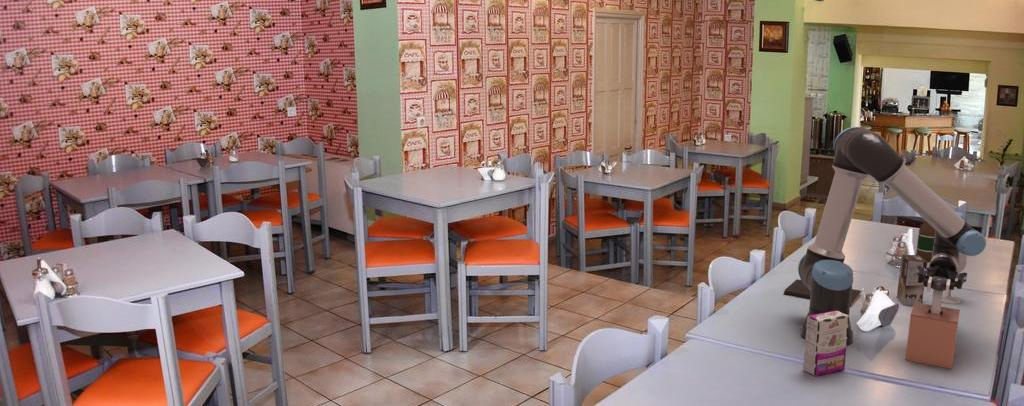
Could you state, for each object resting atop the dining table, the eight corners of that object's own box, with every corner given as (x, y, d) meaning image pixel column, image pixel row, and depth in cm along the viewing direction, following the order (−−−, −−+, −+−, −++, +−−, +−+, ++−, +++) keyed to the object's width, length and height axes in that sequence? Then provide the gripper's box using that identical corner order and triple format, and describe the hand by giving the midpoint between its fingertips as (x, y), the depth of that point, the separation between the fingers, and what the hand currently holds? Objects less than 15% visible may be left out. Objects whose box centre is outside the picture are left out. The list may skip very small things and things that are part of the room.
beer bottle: (937, 259, 337) (944, 203, 332) (935, 263, 331) (942, 206, 326) (916, 256, 341) (923, 201, 336) (914, 260, 335) (921, 204, 330)
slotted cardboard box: (909, 346, 244) (914, 302, 241) (953, 354, 238) (959, 309, 235) (905, 359, 234) (910, 314, 231) (951, 368, 228) (958, 322, 225)
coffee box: (922, 306, 279) (928, 262, 276) (902, 305, 281) (908, 260, 277) (915, 298, 288) (920, 254, 285) (896, 296, 289) (901, 253, 286)
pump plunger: (923, 344, 238) (932, 275, 234) (938, 347, 236) (948, 277, 232) (921, 353, 232) (930, 282, 228) (937, 356, 230) (946, 284, 226)
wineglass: (963, 300, 286) (971, 243, 282) (957, 305, 281) (965, 247, 276) (940, 295, 291) (947, 239, 287) (934, 300, 286) (941, 243, 281)
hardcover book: (796, 284, 304) (796, 279, 303) (860, 296, 291) (861, 290, 291) (783, 296, 291) (784, 290, 290) (850, 309, 278) (851, 302, 278)
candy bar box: (831, 363, 231) (836, 309, 228) (844, 370, 227) (850, 315, 223) (801, 370, 227) (806, 314, 223) (814, 377, 222) (819, 320, 219)
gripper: (973, 284, 243) (970, 306, 223) (910, 275, 252) (903, 296, 232) (976, 260, 242) (974, 280, 222) (913, 252, 250) (906, 271, 230)
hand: (937, 288), depth 227 cm, fingers closed on pump plunger, 4 cm apart
